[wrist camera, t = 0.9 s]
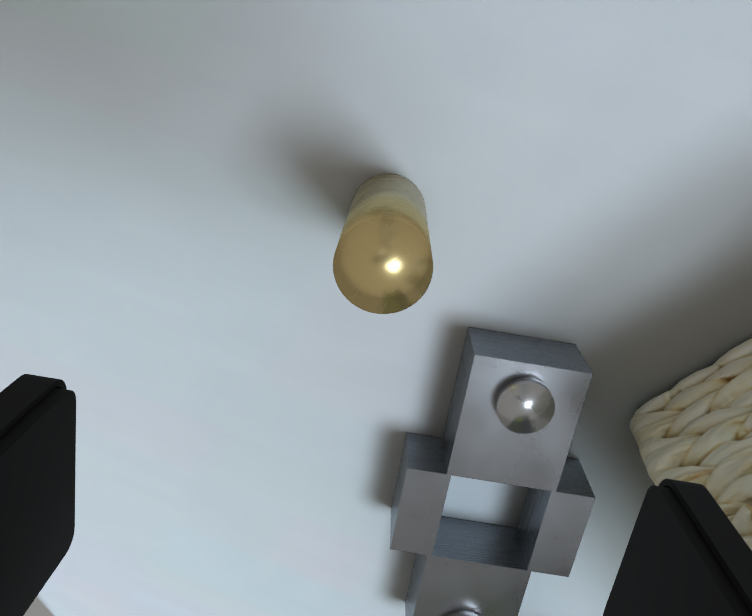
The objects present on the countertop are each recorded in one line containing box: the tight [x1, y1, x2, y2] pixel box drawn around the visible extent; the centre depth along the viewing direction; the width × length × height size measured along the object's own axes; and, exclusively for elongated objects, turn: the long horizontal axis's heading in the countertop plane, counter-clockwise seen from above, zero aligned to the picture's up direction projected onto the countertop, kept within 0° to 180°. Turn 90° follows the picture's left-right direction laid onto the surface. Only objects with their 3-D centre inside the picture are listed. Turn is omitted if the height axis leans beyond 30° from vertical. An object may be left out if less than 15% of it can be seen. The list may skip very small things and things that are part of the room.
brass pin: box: [333, 174, 433, 314], centre depth 25 cm, size 3×3×8 cm
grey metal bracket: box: [390, 327, 595, 616], centre depth 32 cm, size 17×9×4 cm, turn 171°
